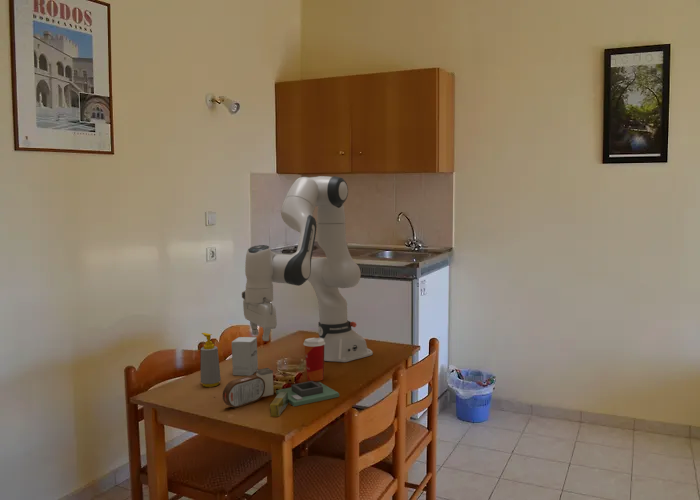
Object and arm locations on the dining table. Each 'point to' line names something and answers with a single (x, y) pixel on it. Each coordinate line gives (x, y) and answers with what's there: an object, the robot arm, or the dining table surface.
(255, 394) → the tin
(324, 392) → the board
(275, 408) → the medication box
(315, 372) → the paper cup
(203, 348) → the soap bottle
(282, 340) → the dining table surface
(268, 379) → the plug
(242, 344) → the supplement box
